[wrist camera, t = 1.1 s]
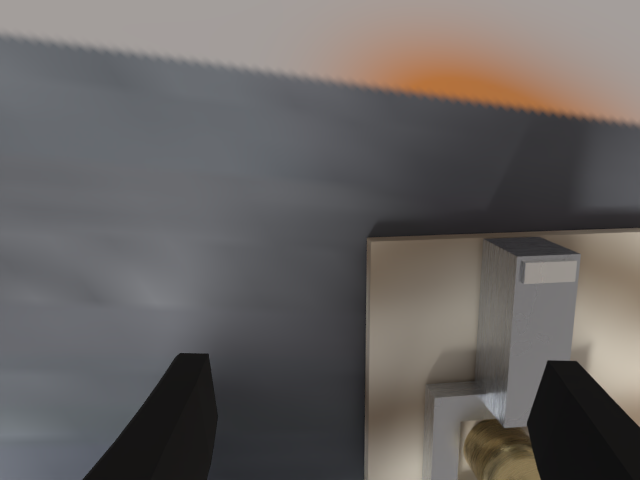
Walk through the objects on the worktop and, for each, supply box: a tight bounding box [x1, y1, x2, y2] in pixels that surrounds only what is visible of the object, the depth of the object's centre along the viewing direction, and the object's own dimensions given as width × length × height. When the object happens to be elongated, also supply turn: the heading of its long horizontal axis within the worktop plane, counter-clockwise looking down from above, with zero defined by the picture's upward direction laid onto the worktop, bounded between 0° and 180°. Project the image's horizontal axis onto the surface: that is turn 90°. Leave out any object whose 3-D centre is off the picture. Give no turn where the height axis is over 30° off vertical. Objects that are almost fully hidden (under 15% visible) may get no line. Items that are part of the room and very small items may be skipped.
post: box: [463, 419, 541, 480], centre depth 24 cm, size 3×3×4 cm
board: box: [364, 228, 640, 480], centre depth 26 cm, size 17×16×1 cm
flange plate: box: [422, 237, 581, 480], centre depth 23 cm, size 14×7×3 cm, turn 0°
